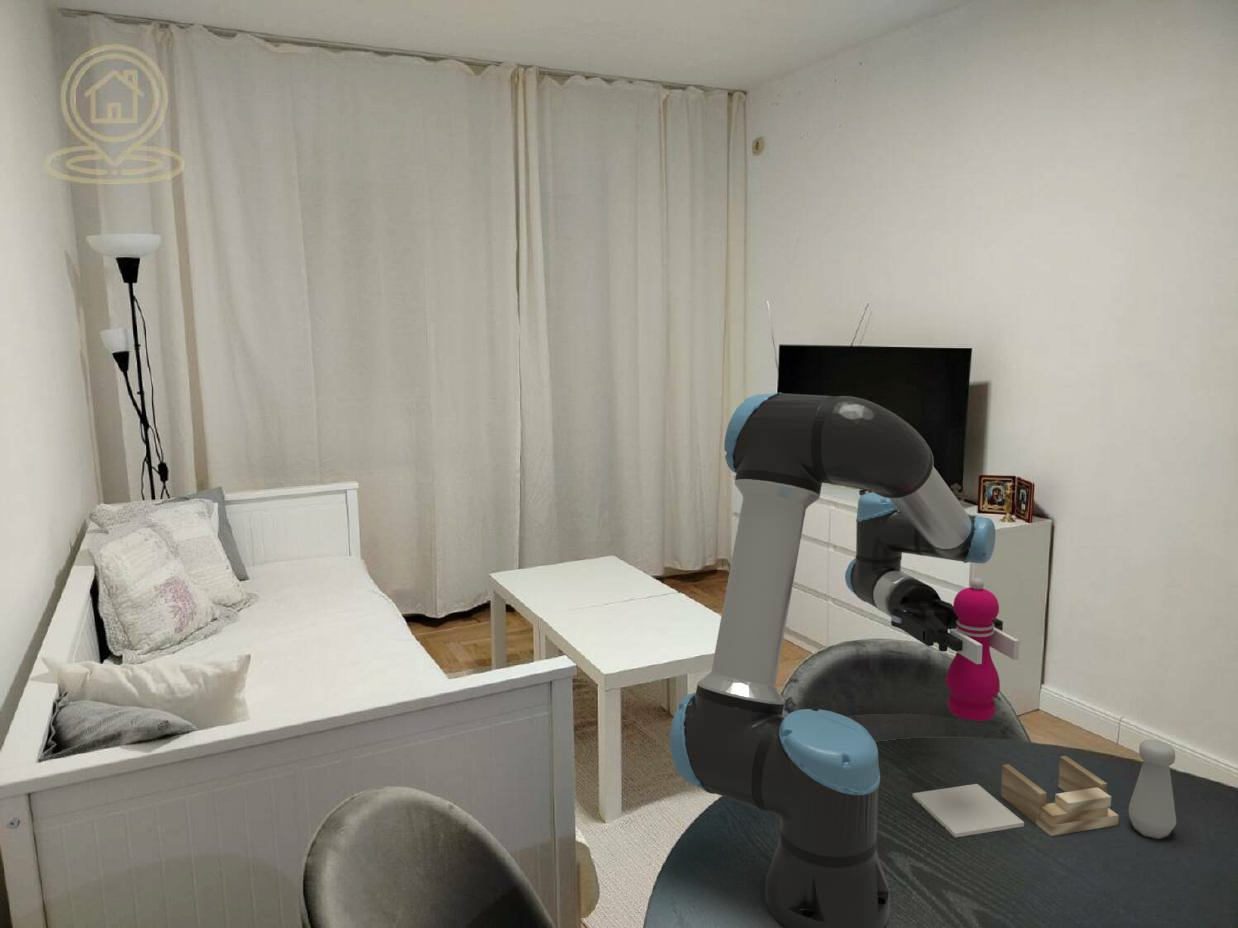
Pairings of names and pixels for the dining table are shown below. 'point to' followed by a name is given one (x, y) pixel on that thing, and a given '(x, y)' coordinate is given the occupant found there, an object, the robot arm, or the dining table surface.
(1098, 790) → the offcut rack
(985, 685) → the pepper mill
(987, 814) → the mat
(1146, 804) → the salt shaker
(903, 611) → the robot arm
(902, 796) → the dining table surface
